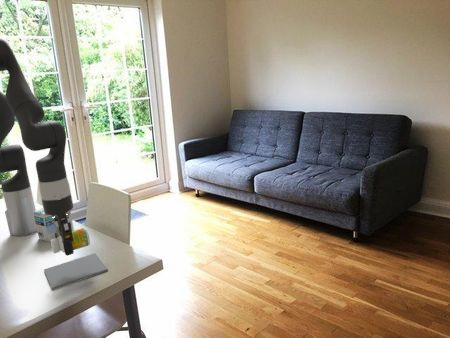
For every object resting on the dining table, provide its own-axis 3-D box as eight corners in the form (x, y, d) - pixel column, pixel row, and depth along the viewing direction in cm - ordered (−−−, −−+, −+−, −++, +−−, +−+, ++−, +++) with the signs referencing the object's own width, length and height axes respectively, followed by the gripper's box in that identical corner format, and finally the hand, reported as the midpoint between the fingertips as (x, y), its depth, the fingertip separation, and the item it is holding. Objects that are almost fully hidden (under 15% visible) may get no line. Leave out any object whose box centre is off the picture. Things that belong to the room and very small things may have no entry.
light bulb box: (49, 242, 131) (43, 213, 128) (38, 239, 134) (31, 211, 131) (75, 230, 139) (70, 203, 137) (64, 228, 143) (58, 201, 140)
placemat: (52, 290, 100) (51, 288, 99) (44, 271, 110) (43, 269, 110) (107, 270, 108) (107, 268, 107) (95, 254, 118) (95, 253, 118)
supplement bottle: (91, 240, 106) (54, 251, 101) (89, 248, 110) (54, 258, 105) (85, 224, 108) (49, 234, 103) (84, 232, 112) (49, 242, 107)
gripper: (37, 192, 106) (48, 246, 110) (45, 204, 95) (58, 264, 99) (65, 186, 110) (75, 238, 114) (76, 197, 99) (87, 255, 103)
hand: (67, 250), depth 107 cm, fingers closed on supplement bottle, 5 cm apart
